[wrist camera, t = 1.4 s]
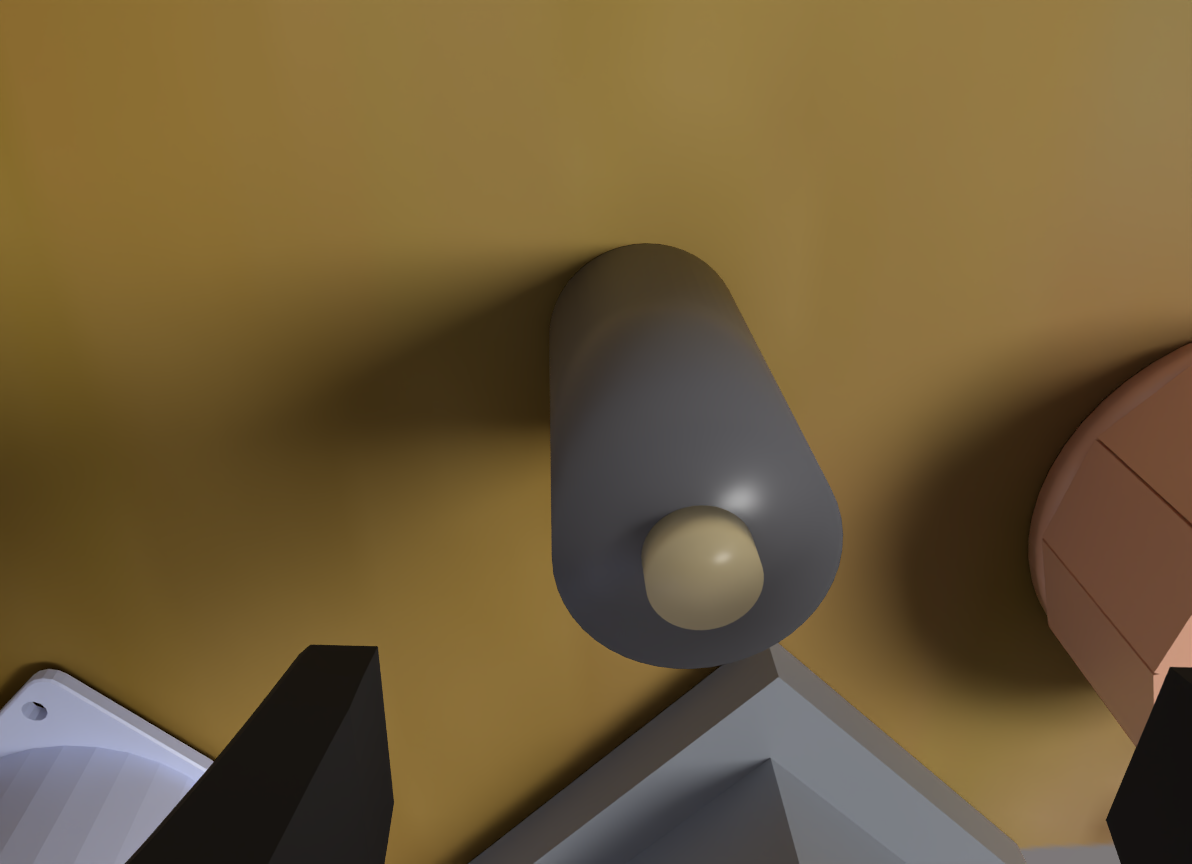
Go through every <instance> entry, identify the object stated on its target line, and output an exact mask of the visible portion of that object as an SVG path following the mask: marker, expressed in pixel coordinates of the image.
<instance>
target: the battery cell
mask: <svg viewBox="0 0 1192 864" xmlns="http://www.w3.org/2000/svg"><path fill="white" fill-rule="evenodd" d="M549 364H550V444H551V524H552V564H553V573H554V577H555V581H556V585H557V589H558V591H559V593H560V596H561V598H562V600H563V602H564V604H565V606H566V608H567V609H568V611H569V612H570V614H571V615H572V617H573V618H574V619H575V620H576V622H577V623H578V624H579V625H580V626H581V627H582V629H583V630H585V631H586V632H587V633H588V634H589V635H590V636H591V637H592V638H594V639H595V640H596V641H598V642H599V643H601V644H602V645H604V646H605V647H607V648H608V649H610V650H612V651H614V652H616V653H618V654H620V655H622V656H624V657H627V658H629V659H632V660H635V661H638V662H641V663H645V664H649V665H653V666H658V667H666V668H676V669H695V668H707V667H714V666H719V665H725V664H729V663H732V662H736V661H739V660H742V659H745V658H748V657H750V656H753V655H755V654H758V653H760V652H762V651H764V650H766V649H768V648H770V647H771V646H773V645H775V644H777V643H778V642H780V641H781V640H783V639H784V638H786V637H787V636H789V635H790V634H791V633H793V632H794V631H795V630H796V629H797V628H798V627H799V626H801V625H802V624H803V623H804V622H805V621H806V620H807V619H808V618H809V617H810V615H811V614H812V613H813V612H814V611H815V610H816V609H817V607H818V606H819V604H820V603H821V602H822V600H823V599H824V597H825V596H826V594H827V592H828V590H829V588H830V586H831V585H832V583H833V581H834V578H835V575H836V572H837V570H838V567H839V563H840V558H841V553H842V542H843V530H842V520H841V515H840V512H839V508H838V504H837V501H836V499H835V497H834V495H833V492H832V490H831V488H830V486H829V484H828V482H827V480H826V478H825V476H824V474H823V472H822V470H821V468H820V466H819V465H818V463H817V461H816V459H815V457H814V455H813V453H812V451H811V449H810V447H809V445H808V443H807V441H806V439H805V437H804V435H803V433H802V431H801V430H800V428H799V426H798V424H797V422H796V420H795V418H794V416H793V414H792V412H791V410H790V408H789V406H788V404H787V402H786V400H785V398H784V396H783V395H782V393H781V391H780V389H779V387H778V385H777V383H776V381H775V379H774V377H773V375H772V373H771V371H770V369H769V367H768V365H767V363H766V362H765V360H764V358H763V356H762V354H761V352H760V350H759V348H758V346H757V344H756V342H755V340H754V338H753V336H752V334H751V332H750V330H749V328H748V327H747V325H746V323H745V321H744V319H743V317H742V315H741V313H740V311H739V309H738V307H737V305H736V303H735V301H734V299H733V297H732V295H731V293H730V292H729V290H728V288H727V286H726V285H725V283H724V282H723V280H722V279H721V278H720V277H719V275H718V274H717V273H716V272H715V271H714V270H713V269H712V268H711V267H710V266H709V265H707V264H706V263H705V262H704V261H702V260H701V259H699V258H698V257H696V256H694V255H692V254H690V253H688V252H686V251H684V250H681V249H678V248H675V247H672V246H666V245H661V244H634V245H629V246H624V247H620V248H617V249H614V250H611V251H608V252H606V253H604V254H602V255H600V256H598V257H596V258H595V259H593V260H592V261H590V262H589V263H587V264H586V265H585V266H583V267H582V268H581V269H580V270H579V271H578V272H577V273H576V274H575V275H574V276H573V277H572V278H571V279H570V280H569V282H568V283H567V284H566V286H565V287H564V289H563V290H562V292H561V294H560V296H559V298H558V300H557V302H556V304H555V307H554V310H553V313H552V317H551V322H550V331H549Z"/></svg>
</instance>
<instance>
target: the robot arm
mask: <svg viewBox="0 0 1192 864" xmlns="http://www.w3.org/2000/svg"><path fill="white" fill-rule="evenodd" d="M33 702H36V703H39V704H42V705H43V706H44V707H45V708H42V707H39V706H36V705H35V704H34V703H33ZM393 805H394V799H393V789H392V780H391V770H390V760H389V750H388V741H387V731H386V721H385V712H384V702H383V692H382V683H381V673H380V663H379V654H378V646H340V645H310V646H308V647H307V648H306V649H305V650H304V651H303V652H301V653H300V654H299V655H298V657H297V658H296V659H295V660H294V662H293V663H292V664H291V666H290V667H289V668H288V670H287V671H286V672H285V673H284V675H283V676H282V677H281V679H280V680H279V681H278V682H277V684H276V685H275V686H274V688H273V689H272V690H271V691H270V693H269V694H268V695H267V697H266V698H265V699H264V700H263V702H262V703H261V704H260V705H259V707H258V708H257V709H256V710H255V712H254V713H253V714H252V715H251V717H250V718H249V719H248V720H247V722H246V723H245V724H244V725H243V727H242V728H241V729H240V730H239V732H238V733H237V734H236V735H235V736H234V738H233V739H232V740H231V741H230V743H229V744H228V745H227V746H226V747H225V749H224V750H223V751H222V752H221V754H220V755H219V756H218V757H217V758H216V760H215V761H212V760H211V759H209V758H207V757H206V756H204V755H202V754H201V753H199V752H197V751H196V750H194V749H192V748H191V747H189V746H187V745H186V744H184V743H182V742H181V741H179V740H177V739H176V738H174V737H172V736H171V735H169V734H167V733H166V732H164V731H162V730H160V729H159V728H157V727H155V726H154V725H152V724H150V723H149V722H147V721H145V720H144V719H142V718H140V717H139V716H137V715H135V714H134V713H132V712H130V711H129V710H127V709H125V708H124V707H122V706H120V705H119V704H117V703H115V702H114V701H112V700H110V699H108V698H107V697H105V696H103V695H102V694H100V693H98V692H97V691H95V690H93V689H92V688H90V687H88V686H87V685H85V684H83V683H82V682H80V681H78V680H77V679H75V678H73V677H72V676H70V675H68V674H67V673H64V672H62V671H59V670H53V669H46V670H40V671H39V672H37V673H35V674H34V675H33V676H32V677H31V678H30V679H29V680H28V681H27V682H26V683H25V684H24V685H23V686H22V688H21V689H20V690H19V691H18V692H17V693H16V694H15V695H14V696H13V697H12V698H11V699H10V700H9V701H8V702H7V704H6V705H5V706H4V707H3V708H2V709H1V710H0V864H384V863H385V856H386V850H387V844H388V837H389V831H390V824H391V818H392V811H393ZM1106 821H1107V824H1108V827H1109V830H1110V833H1111V836H1112V839H1113V842H1114V845H1115V848H1116V850H1117V854H1118V856H1119V859H1120V862H1121V864H1192V667H1170V668H1169V670H1168V672H1167V675H1166V677H1165V680H1164V682H1163V684H1162V687H1161V689H1160V692H1159V694H1158V696H1157V699H1156V701H1155V704H1154V706H1153V708H1152V711H1151V713H1150V715H1149V718H1148V720H1147V723H1146V725H1145V727H1144V730H1143V732H1142V735H1141V737H1140V739H1139V742H1138V744H1137V747H1136V749H1135V751H1134V754H1133V756H1132V759H1131V761H1130V763H1129V766H1128V768H1127V771H1126V773H1125V775H1124V778H1123V780H1122V783H1121V785H1120V787H1119V790H1118V792H1117V794H1116V797H1115V799H1114V802H1113V804H1112V806H1111V809H1110V811H1109V814H1108V816H1107V818H1106Z"/></svg>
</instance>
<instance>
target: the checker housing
mask: <svg viewBox="0 0 1192 864" xmlns="http://www.w3.org/2000/svg"><path fill="white" fill-rule="evenodd" d="M468 864H1027V863H1026V861H1025V859H1024V857H1023V855H1022V853H1021V851H1020V849H1019V847H1018V845H1017V844H1016V843H1015V842H1014V841H1013V840H1011V839H1010V838H1009V837H1008V836H1007V835H1005V834H1004V833H1003V832H1002V831H1001V830H1000V829H998V828H997V827H996V826H995V825H994V824H992V823H991V822H990V821H989V820H988V819H986V818H985V817H984V816H983V815H982V814H981V813H979V812H978V811H977V810H976V809H975V808H973V807H972V806H971V805H970V804H969V803H967V802H966V801H965V800H964V799H963V798H961V797H960V796H959V795H958V794H957V793H956V792H954V791H953V790H952V789H951V788H950V787H948V786H947V785H946V784H945V783H944V782H942V781H941V780H940V779H939V778H938V777H937V776H935V775H934V774H933V773H932V772H931V771H929V770H928V769H927V768H926V767H925V766H923V765H922V764H921V763H920V762H919V761H918V760H916V759H915V758H914V757H913V756H912V755H910V754H909V753H908V752H907V751H906V750H904V749H903V748H902V747H901V746H900V745H899V744H897V743H896V742H895V741H894V740H893V739H891V738H890V737H889V736H888V735H887V734H885V733H884V732H883V731H882V730H881V729H879V728H878V727H877V726H876V725H875V724H874V723H872V722H871V721H870V720H869V719H868V718H866V717H865V716H864V715H863V714H862V713H860V712H859V711H858V710H857V709H856V708H855V707H853V706H852V705H851V704H850V703H849V702H847V701H846V700H845V699H844V698H843V697H841V696H840V695H839V694H838V693H837V692H836V691H834V690H833V689H832V688H831V687H830V686H828V685H827V684H826V683H825V682H824V681H822V680H821V679H820V678H819V677H818V676H817V675H815V674H814V673H813V672H812V671H811V670H809V669H808V668H807V667H806V666H805V665H803V664H802V663H801V662H800V661H799V660H797V659H796V658H795V657H794V656H793V655H792V654H790V653H789V652H788V651H787V650H786V649H784V648H783V647H782V646H781V645H780V644H778V643H777V644H775V645H773V646H771V647H770V648H768V649H766V650H764V651H762V652H760V653H758V654H755V655H753V656H750V657H748V658H745V659H742V660H739V661H736V662H732V663H729V664H725V665H722V666H720V667H719V668H718V669H717V670H715V671H714V672H713V673H711V674H710V675H709V676H708V677H706V678H705V679H704V680H702V681H701V682H700V683H699V684H697V685H696V686H695V687H694V688H692V689H691V690H690V691H688V692H687V693H686V694H685V695H683V696H682V697H681V698H679V699H678V700H677V701H676V702H674V703H673V704H672V705H671V706H669V707H668V708H667V709H665V710H664V711H663V712H662V713H660V714H659V715H658V716H656V717H655V718H654V719H653V720H651V721H650V722H649V723H647V724H646V725H645V726H644V727H642V728H641V729H640V730H639V731H637V732H636V733H635V734H633V735H632V736H631V737H630V738H628V739H627V740H626V741H624V742H623V743H622V744H621V745H619V746H618V747H617V748H615V749H614V750H613V751H612V752H610V753H609V754H608V755H607V756H605V757H604V758H603V759H601V760H600V761H599V762H598V763H596V764H595V765H594V766H592V767H591V768H590V769H589V770H587V771H586V772H585V773H584V774H582V775H581V776H580V777H578V778H577V779H576V780H575V781H573V782H572V783H571V784H569V785H568V786H567V787H566V788H564V789H563V790H562V791H560V792H559V793H558V794H557V795H555V796H554V797H553V798H552V799H550V800H549V801H548V802H546V803H545V804H544V805H543V806H541V807H540V808H539V809H537V810H536V811H535V812H534V813H532V814H531V815H530V816H528V817H527V818H526V819H525V820H523V821H522V822H521V823H520V824H518V825H517V826H516V827H514V828H513V829H512V830H511V831H509V832H508V833H507V834H505V835H504V836H503V837H502V838H500V839H499V840H498V841H497V842H495V843H494V844H493V845H491V846H490V847H489V848H488V849H486V850H485V851H484V852H482V853H481V854H480V855H479V856H477V857H476V858H475V859H473V860H472V861H471V862H470V863H468Z"/></svg>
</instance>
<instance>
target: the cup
mask: <svg viewBox="0 0 1192 864" xmlns="http://www.w3.org/2000/svg"><path fill="white" fill-rule="evenodd" d="M1028 562H1029V567H1030V573H1031V579H1032V583H1033V586H1034V589H1035V592H1036V595H1037V598H1038V600H1039V602H1040V604H1041V606H1042V607H1043V609H1044V611H1045V613H1046V614H1047V616H1048V626H1049V628H1050V629H1051V630H1052V632H1053V633H1054V635H1055V636H1056V637H1057V639H1058V640H1059V641H1060V643H1061V644H1062V646H1063V647H1064V648H1065V650H1066V651H1067V653H1068V654H1069V655H1070V657H1071V658H1072V659H1073V661H1074V662H1075V664H1076V665H1077V666H1078V668H1079V669H1080V670H1081V672H1082V673H1083V675H1084V676H1085V677H1086V679H1087V680H1088V682H1089V683H1090V684H1091V686H1092V687H1093V688H1094V690H1095V691H1096V693H1097V694H1098V695H1099V697H1100V698H1101V699H1102V701H1103V702H1104V704H1105V705H1106V706H1107V708H1108V709H1109V711H1110V712H1111V713H1112V715H1113V716H1114V717H1115V719H1116V720H1117V722H1118V723H1119V724H1120V726H1121V727H1122V728H1123V730H1124V731H1125V733H1126V734H1127V735H1128V737H1129V738H1130V739H1131V741H1132V742H1133V744H1134V745H1135V746H1136V747H1137V744H1138V742H1139V739H1140V737H1141V735H1142V732H1143V730H1144V727H1145V725H1146V723H1147V720H1148V718H1149V715H1150V713H1151V711H1152V708H1153V706H1154V704H1155V701H1156V699H1157V696H1158V694H1159V692H1160V689H1161V687H1162V684H1163V682H1164V680H1165V677H1166V675H1167V672H1168V670H1169V668H1170V667H1192V343H1189V344H1187V345H1185V346H1183V347H1180V348H1178V349H1177V350H1175V351H1173V352H1171V353H1169V354H1168V355H1166V356H1164V357H1162V358H1160V359H1159V360H1157V361H1155V362H1153V363H1152V364H1150V365H1149V366H1147V367H1146V368H1144V369H1143V370H1142V371H1140V372H1139V373H1137V374H1136V375H1134V376H1133V377H1131V378H1130V379H1129V380H1127V381H1126V382H1125V383H1123V384H1122V385H1121V386H1120V387H1119V388H1118V389H1116V390H1115V391H1114V392H1113V393H1112V394H1111V395H1109V396H1108V397H1107V398H1106V399H1105V400H1104V401H1102V402H1101V403H1100V405H1099V406H1098V407H1097V408H1096V409H1095V410H1094V411H1093V412H1092V413H1091V414H1090V415H1089V416H1088V417H1087V418H1086V419H1085V420H1084V421H1083V422H1082V423H1081V425H1080V426H1079V427H1078V429H1077V430H1076V431H1075V433H1074V434H1073V435H1072V436H1071V438H1070V439H1069V440H1068V442H1067V443H1066V444H1065V445H1064V447H1063V449H1062V450H1061V452H1060V454H1059V455H1058V457H1057V459H1056V460H1055V462H1054V463H1053V465H1052V467H1051V468H1050V470H1049V472H1048V475H1047V477H1046V479H1045V481H1044V483H1043V486H1042V488H1041V490H1040V492H1039V495H1038V498H1037V502H1036V505H1035V508H1034V512H1033V515H1032V520H1031V526H1030V533H1029V539H1028Z"/></svg>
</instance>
